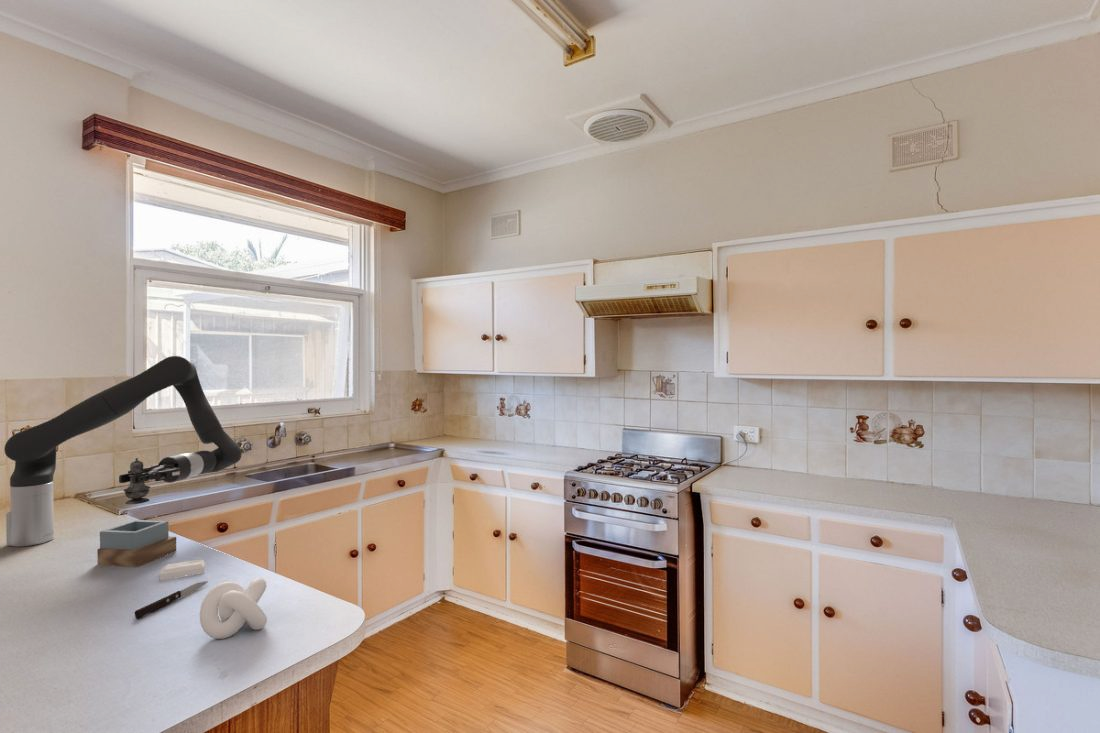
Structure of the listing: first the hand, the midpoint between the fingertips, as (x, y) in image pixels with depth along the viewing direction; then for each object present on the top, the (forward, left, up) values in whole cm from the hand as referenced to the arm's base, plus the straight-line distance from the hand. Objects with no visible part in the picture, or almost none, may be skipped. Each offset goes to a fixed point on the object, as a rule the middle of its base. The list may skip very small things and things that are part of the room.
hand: (127, 479), depth 144 cm
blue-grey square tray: (+1, +2, -18) cm, 18 cm away
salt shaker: (+1, +3, -7) cm, 7 cm away
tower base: (+1, +2, -22) cm, 22 cm away
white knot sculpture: (+44, -45, -22) cm, 67 cm away
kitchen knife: (+25, -29, -22) cm, 44 cm away
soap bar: (+19, -12, -22) cm, 32 cm away
